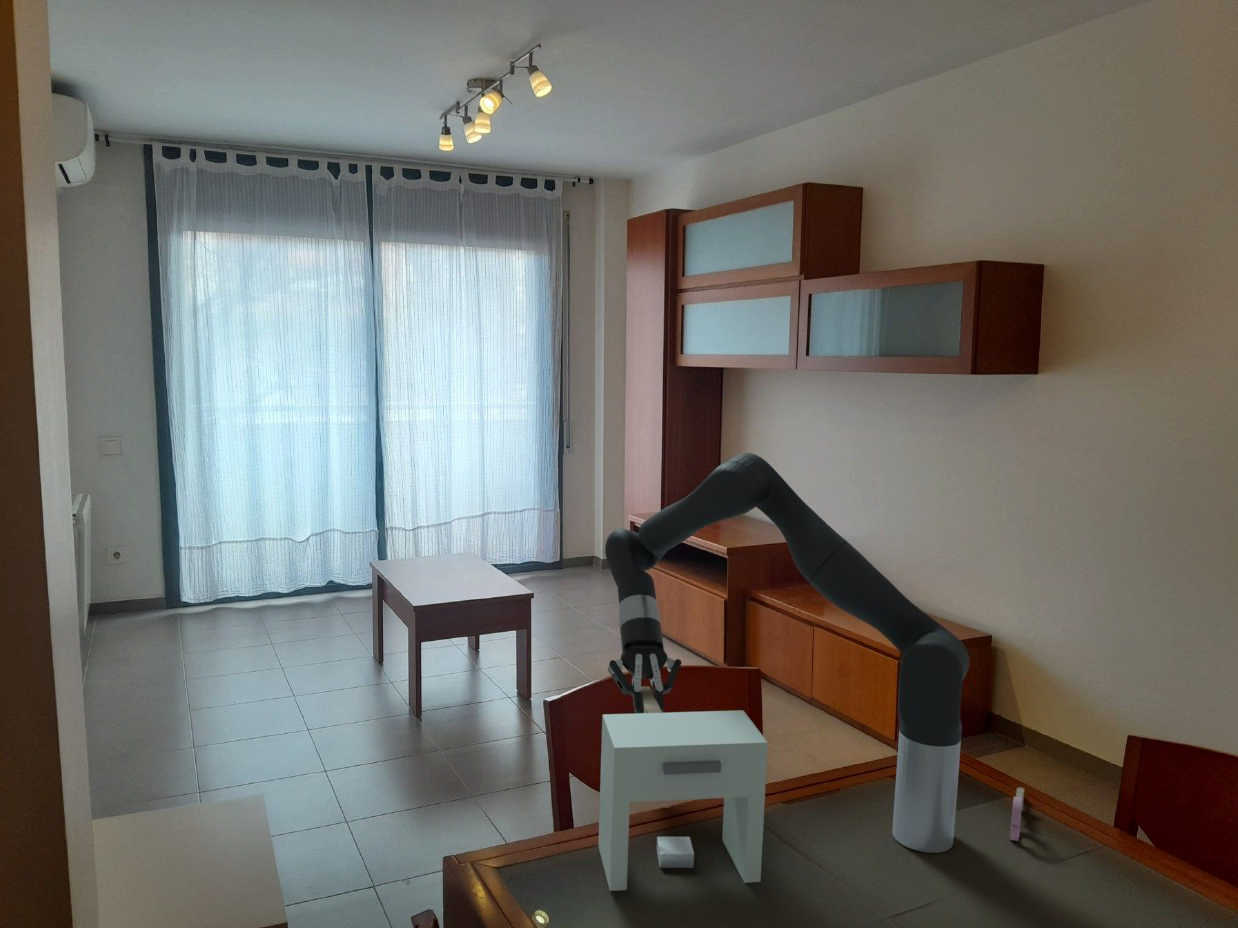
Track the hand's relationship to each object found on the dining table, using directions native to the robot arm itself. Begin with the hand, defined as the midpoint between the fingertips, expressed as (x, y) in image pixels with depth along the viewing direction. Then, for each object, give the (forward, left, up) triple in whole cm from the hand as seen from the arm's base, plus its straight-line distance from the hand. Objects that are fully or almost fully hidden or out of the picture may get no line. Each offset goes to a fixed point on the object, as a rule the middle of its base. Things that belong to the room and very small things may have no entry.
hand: (650, 714), depth 158 cm
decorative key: (-27, +56, -14) cm, 64 cm away
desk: (+18, +15, -14) cm, 27 cm away
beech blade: (+3, +2, -5) cm, 7 cm away
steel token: (+17, +14, -14) cm, 26 cm away
